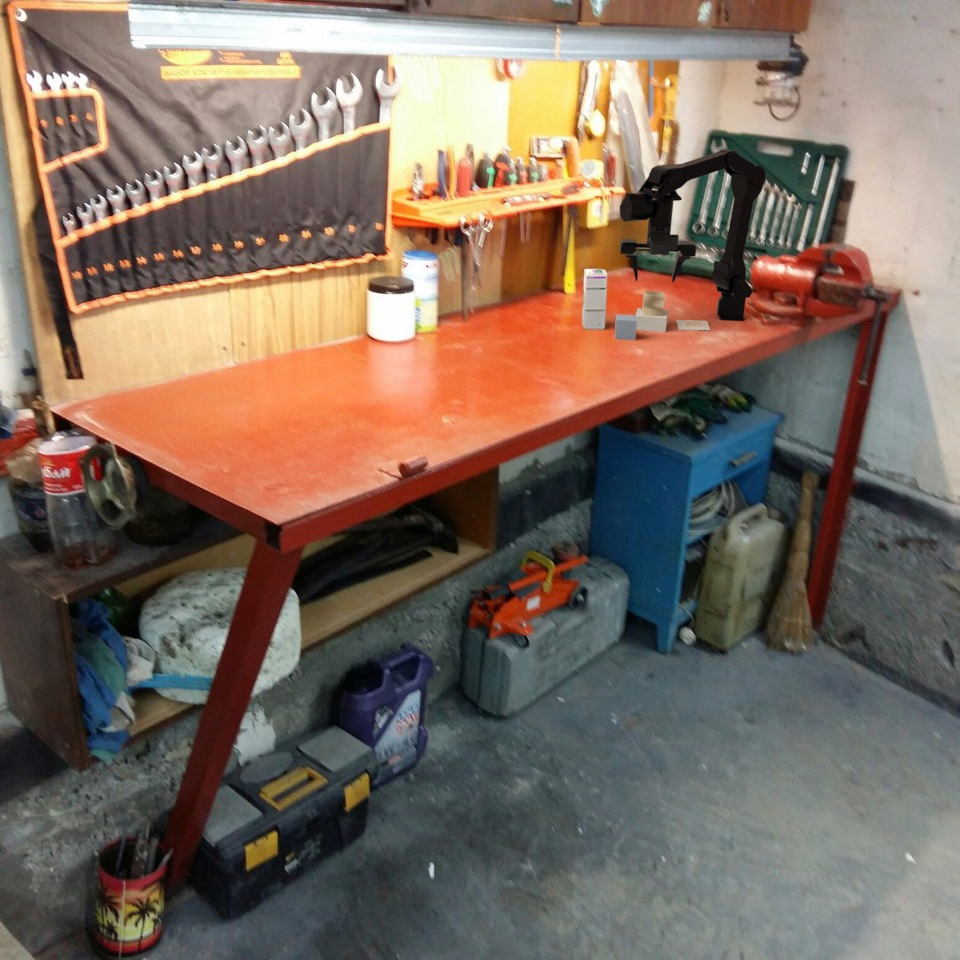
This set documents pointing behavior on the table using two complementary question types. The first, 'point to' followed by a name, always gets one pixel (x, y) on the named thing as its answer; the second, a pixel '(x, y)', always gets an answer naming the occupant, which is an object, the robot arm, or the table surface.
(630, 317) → the slate-blue cube
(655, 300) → the birch cube
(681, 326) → the tile
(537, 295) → the table surface
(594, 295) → the syrup box
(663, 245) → the robot arm
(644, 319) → the base block
